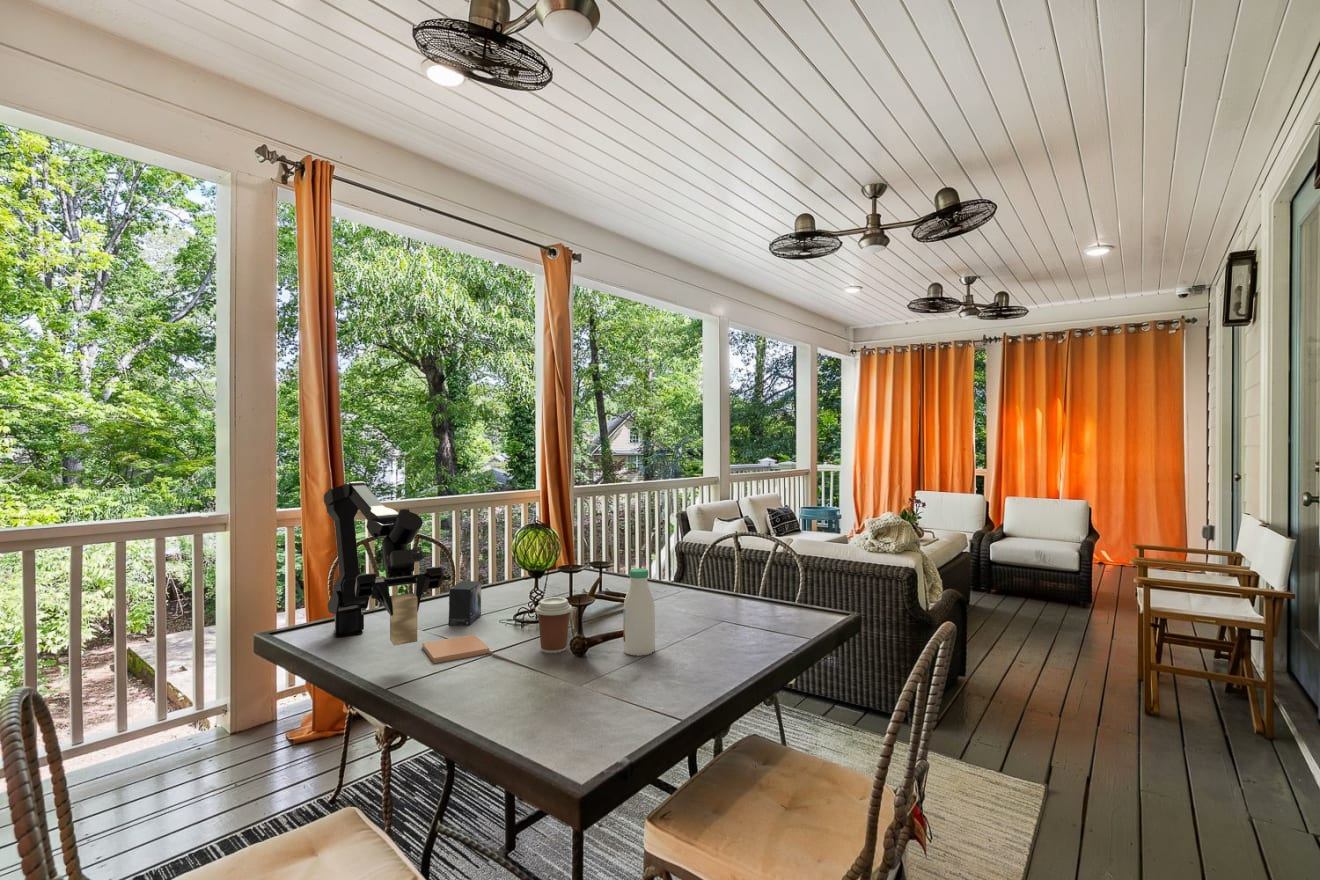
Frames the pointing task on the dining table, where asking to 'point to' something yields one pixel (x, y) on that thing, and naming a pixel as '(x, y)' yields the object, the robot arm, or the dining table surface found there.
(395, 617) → the maple block
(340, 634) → the robot arm
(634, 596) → the milk bottle
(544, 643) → the coffee cup
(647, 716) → the dining table surface
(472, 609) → the small box
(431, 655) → the terracotta tile
